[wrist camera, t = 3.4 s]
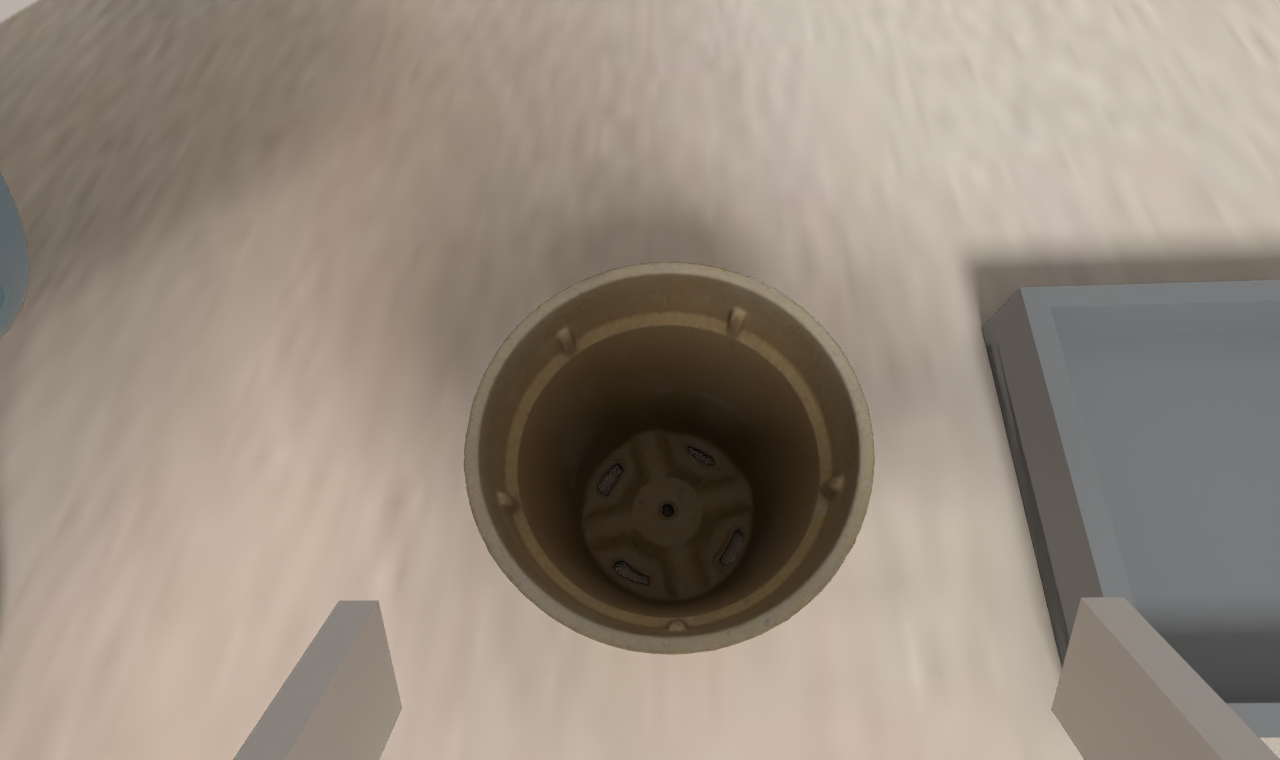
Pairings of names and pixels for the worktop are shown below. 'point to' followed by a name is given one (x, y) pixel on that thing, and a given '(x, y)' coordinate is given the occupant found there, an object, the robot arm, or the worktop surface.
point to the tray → (1155, 464)
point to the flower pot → (669, 457)
